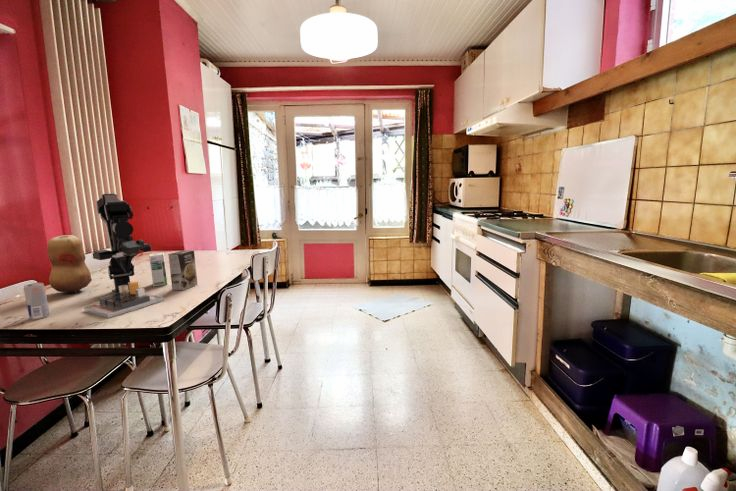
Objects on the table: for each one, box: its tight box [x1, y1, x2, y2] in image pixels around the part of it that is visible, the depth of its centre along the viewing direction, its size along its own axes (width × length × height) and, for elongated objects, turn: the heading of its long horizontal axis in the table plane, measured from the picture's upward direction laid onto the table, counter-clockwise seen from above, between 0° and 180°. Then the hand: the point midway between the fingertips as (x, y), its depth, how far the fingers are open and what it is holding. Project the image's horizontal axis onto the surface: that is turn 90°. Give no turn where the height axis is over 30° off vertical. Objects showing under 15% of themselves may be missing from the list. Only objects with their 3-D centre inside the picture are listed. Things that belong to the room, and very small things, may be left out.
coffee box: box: [168, 250, 199, 291], centre depth 157 cm, size 9×6×16 cm
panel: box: [83, 285, 164, 319], centre depth 134 cm, size 16×20×6 cm
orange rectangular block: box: [128, 280, 140, 294], centre depth 137 cm, size 2×3×5 cm
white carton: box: [23, 282, 50, 321], centre depth 124 cm, size 5×5×12 cm
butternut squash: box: [46, 234, 93, 294], centre depth 151 cm, size 14×13×25 cm
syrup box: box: [148, 252, 168, 287], centre depth 162 cm, size 6×6×14 cm
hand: (126, 272), depth 139 cm, fingers closed
